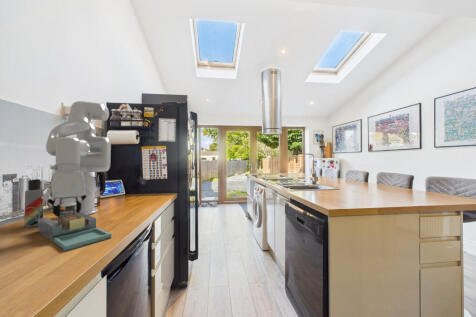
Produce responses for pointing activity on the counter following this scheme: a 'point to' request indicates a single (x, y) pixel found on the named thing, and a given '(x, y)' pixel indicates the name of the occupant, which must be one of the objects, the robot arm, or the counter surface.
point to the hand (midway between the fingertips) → (67, 213)
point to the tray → (81, 238)
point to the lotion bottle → (33, 203)
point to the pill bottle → (67, 208)
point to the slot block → (57, 230)
